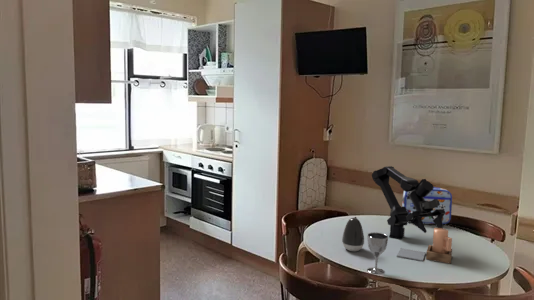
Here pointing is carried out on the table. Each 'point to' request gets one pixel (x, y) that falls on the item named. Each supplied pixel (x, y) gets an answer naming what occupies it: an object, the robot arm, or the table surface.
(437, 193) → the lunch box
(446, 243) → the tan dome with tab
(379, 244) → the wine glass
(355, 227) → the dark grey egg shape
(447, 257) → the holder
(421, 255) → the mat
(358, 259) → the table surface
